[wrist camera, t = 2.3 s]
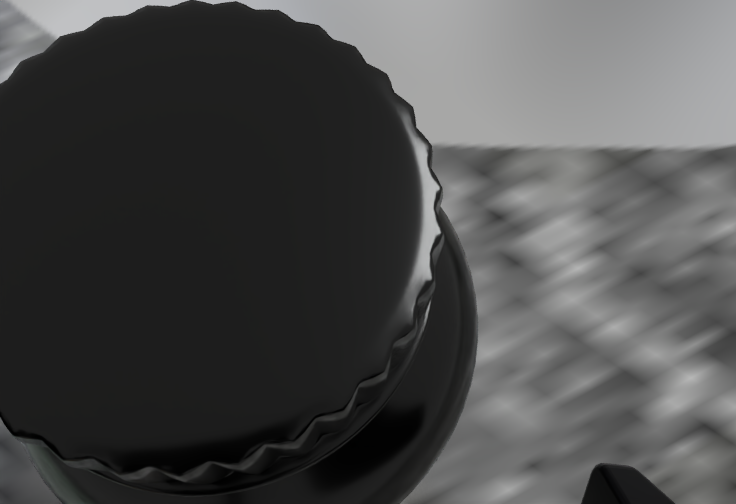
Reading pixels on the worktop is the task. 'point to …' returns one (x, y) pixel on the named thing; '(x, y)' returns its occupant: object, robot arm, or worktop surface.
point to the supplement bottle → (224, 267)
